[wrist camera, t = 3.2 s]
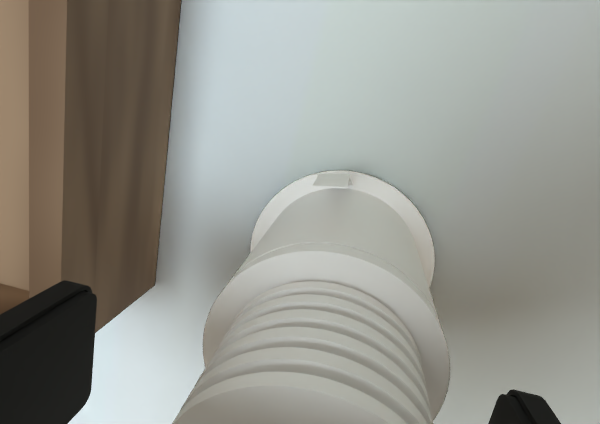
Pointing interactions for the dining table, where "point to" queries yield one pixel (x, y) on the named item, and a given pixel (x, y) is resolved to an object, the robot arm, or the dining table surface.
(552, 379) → the dining table surface
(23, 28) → the walnut stand
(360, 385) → the downlight
